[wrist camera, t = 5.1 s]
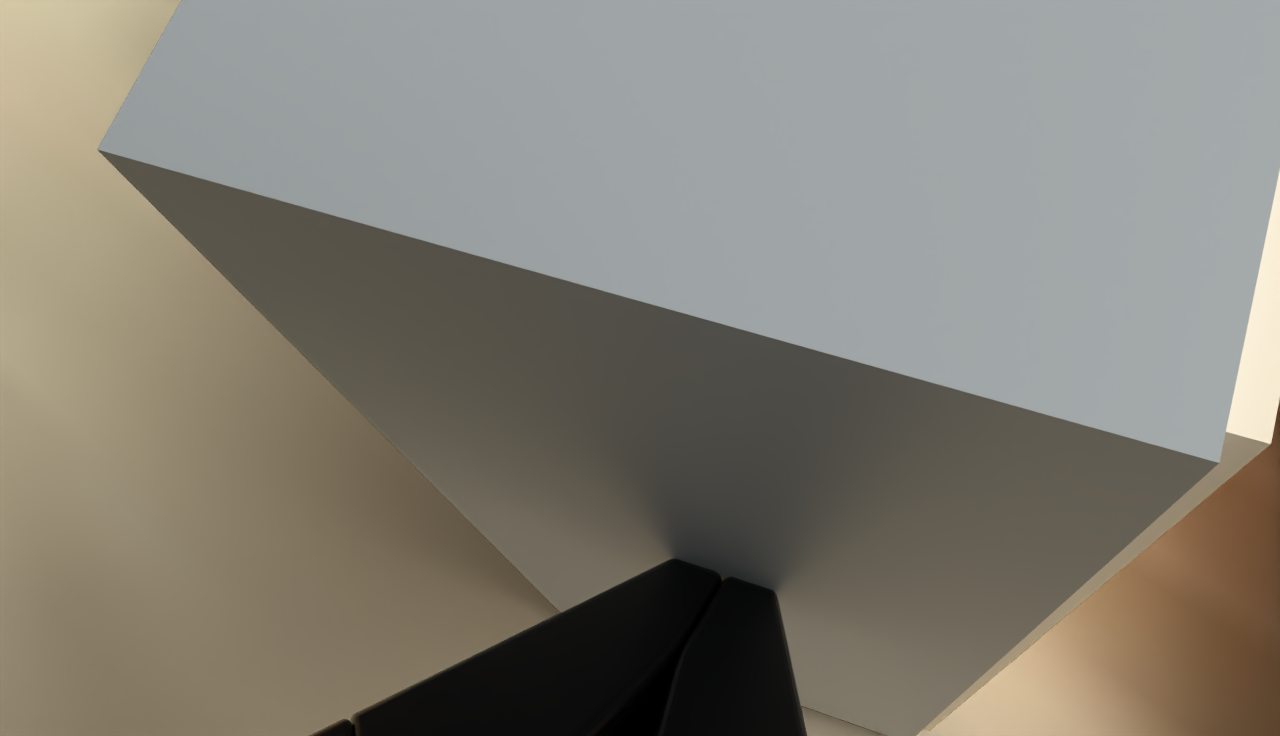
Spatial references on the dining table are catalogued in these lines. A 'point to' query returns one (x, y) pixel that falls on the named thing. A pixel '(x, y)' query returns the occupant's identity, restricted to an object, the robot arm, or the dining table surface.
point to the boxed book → (763, 285)
